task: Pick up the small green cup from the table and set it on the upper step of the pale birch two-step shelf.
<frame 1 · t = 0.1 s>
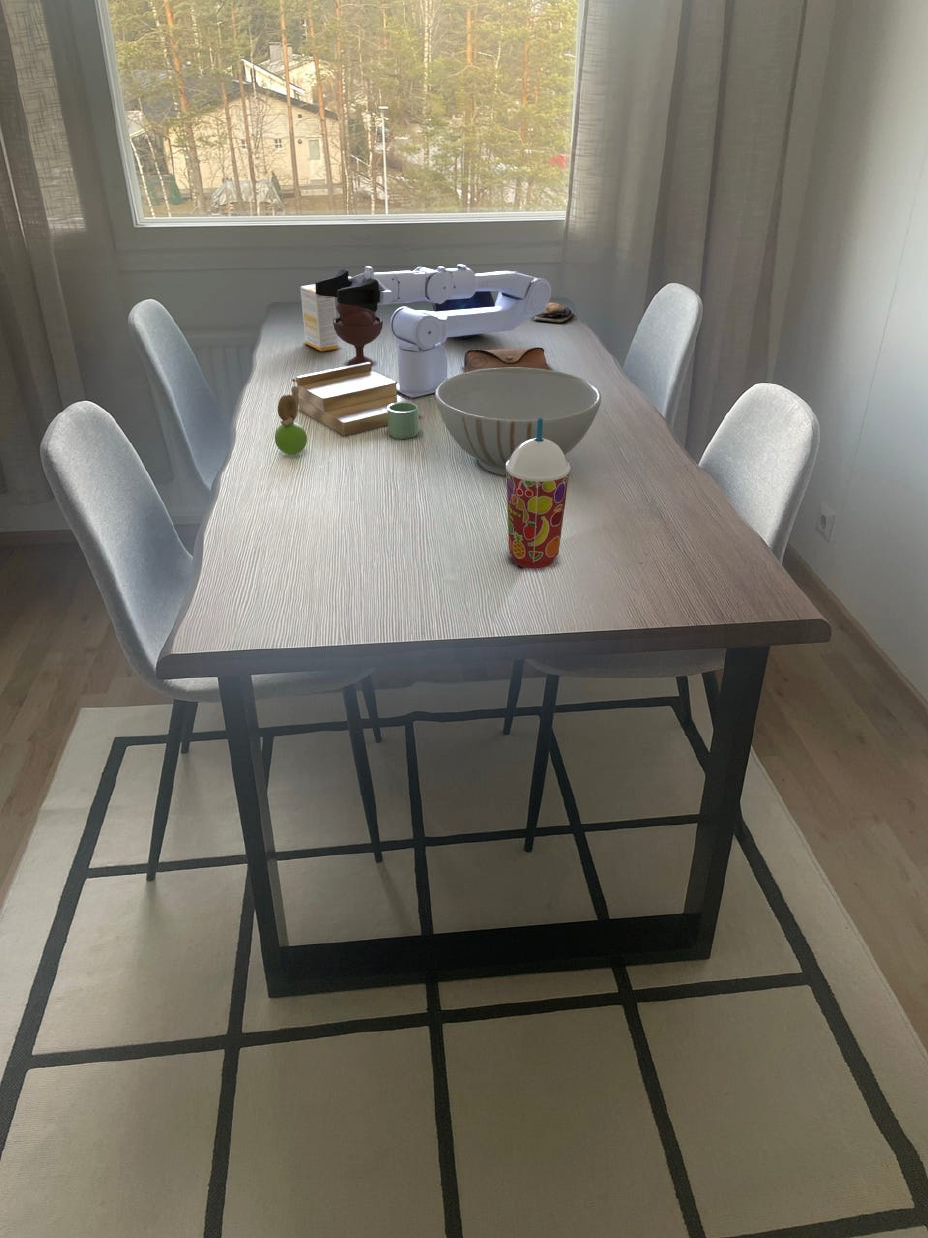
hand: (326, 292, 166), 22 cm above the table, tool horizontal, fingers open, 7 cm apart
decorative bowl: (515, 463, 155), on the table
sandwich: (553, 318, 236), on the table
smoothie: (533, 560, 126), on the table
supplement box: (322, 347, 214), on the table
shelf: (358, 413, 175), on the table
decorative orb: (463, 336, 222), on the table
sunglasses case: (507, 371, 198), on the table
snail figurine: (293, 453, 159), on the table
green cup: (403, 434, 166), on the table
ice cream bowl: (360, 364, 202), on the table
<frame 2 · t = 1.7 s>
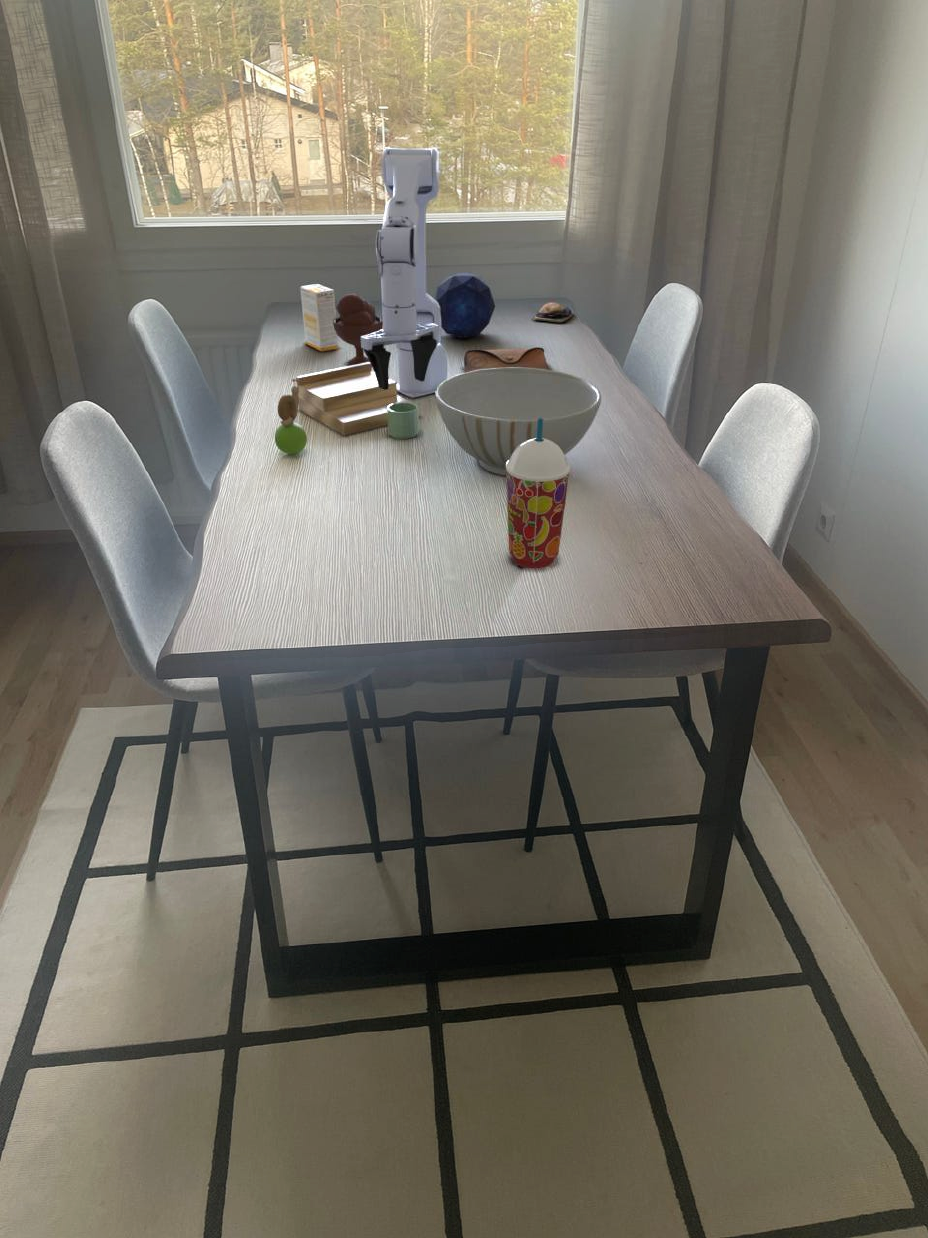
hand: (401, 383, 161), 9 cm above the table, tool pointing down, fingers open, 7 cm apart
nothing on the table moved.
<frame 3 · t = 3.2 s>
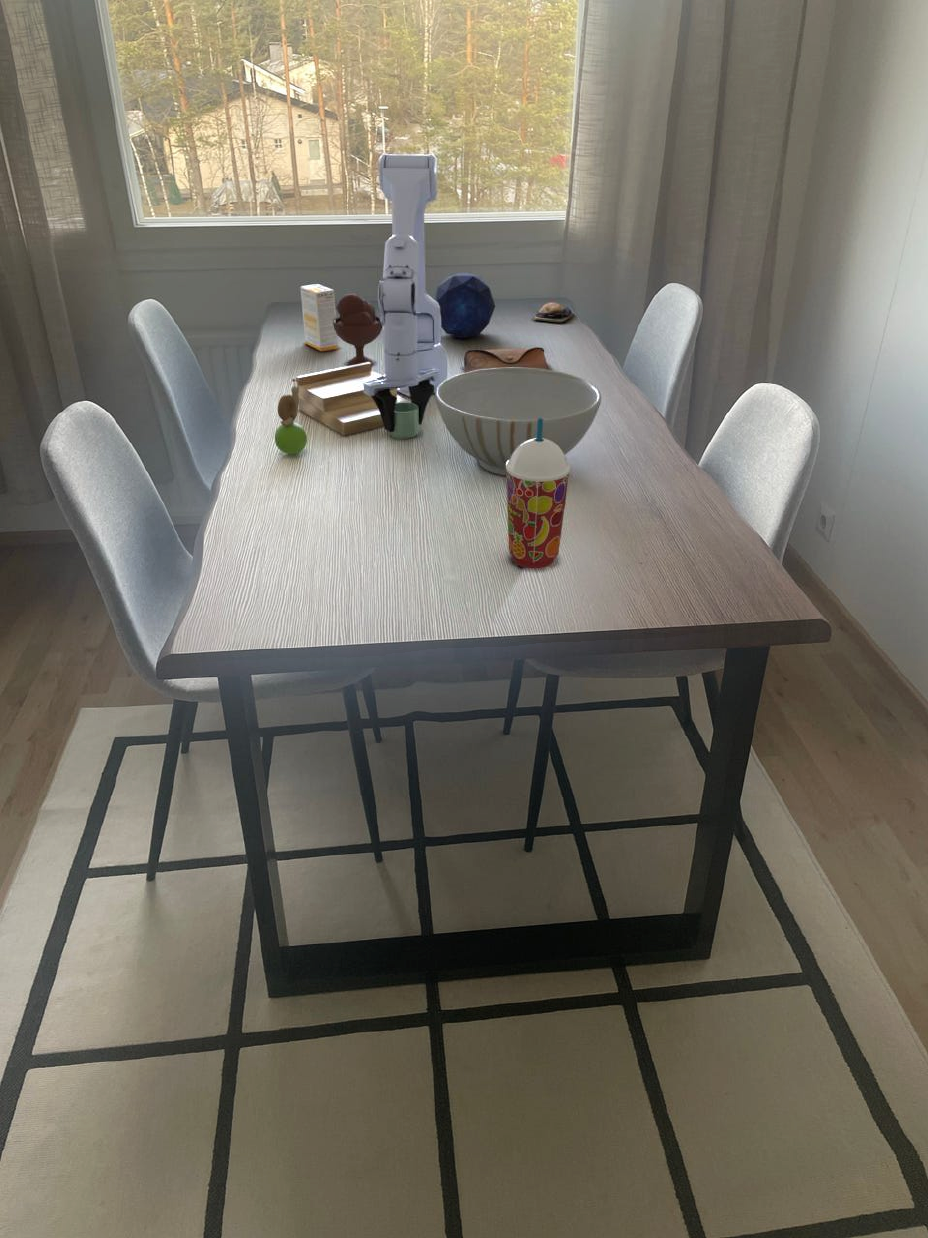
hand: (403, 426, 165), 1 cm above the table, tool pointing down, fingers closed on green cup, 5 cm apart
green cup: (403, 434, 166), on the table, touching gripper
everything else where it was.
when the fingers open (6 cm above the table, at t = 7.2 s): green cup stays where it is, resting on shelf.
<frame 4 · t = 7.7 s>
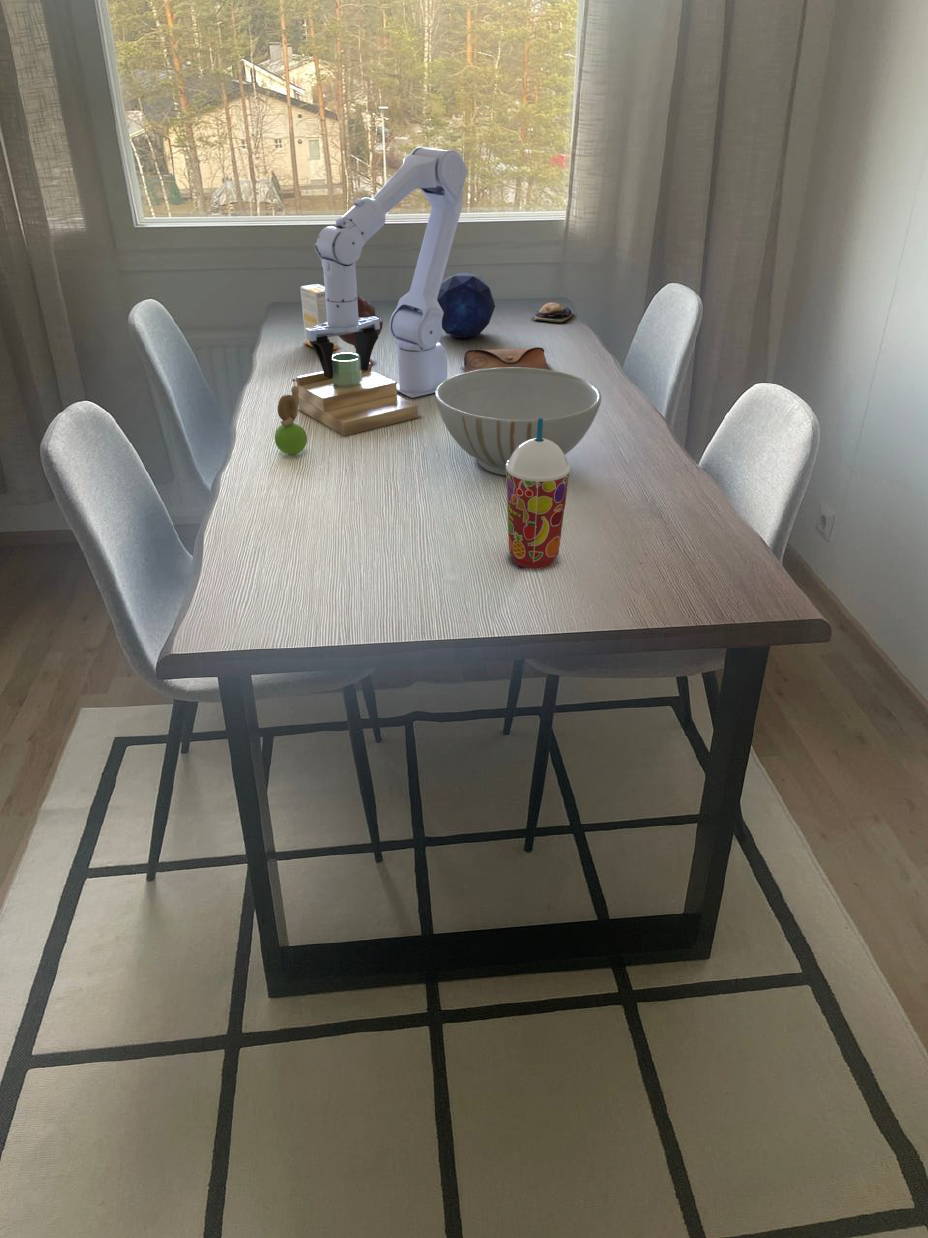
hand: (346, 372, 174), 7 cm above the table, tool pointing down, fingers open, 7 cm apart
green cup: (347, 383, 175), point 5 cm above the table, touching shelf
everything else where it was.
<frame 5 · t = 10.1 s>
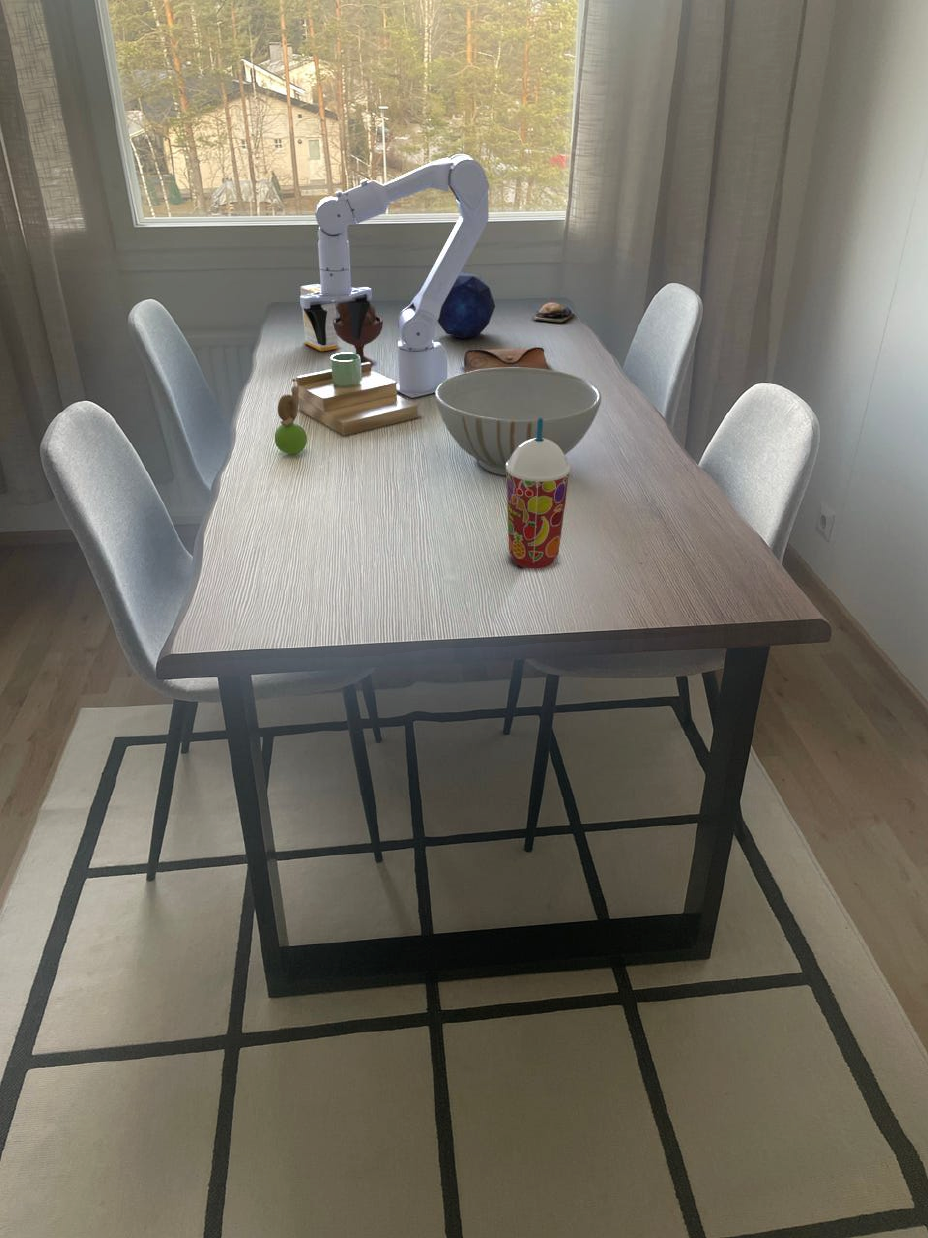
hand: (339, 341, 180), 10 cm above the table, tool pointing down, fingers open, 7 cm apart
nothing on the table moved.
at the end: green cup inside the target area on the shelf (0.2 cm from its centre), point 5.0 cm above the shelf's base; green cup tilted 0°; the gripper is holding nothing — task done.
